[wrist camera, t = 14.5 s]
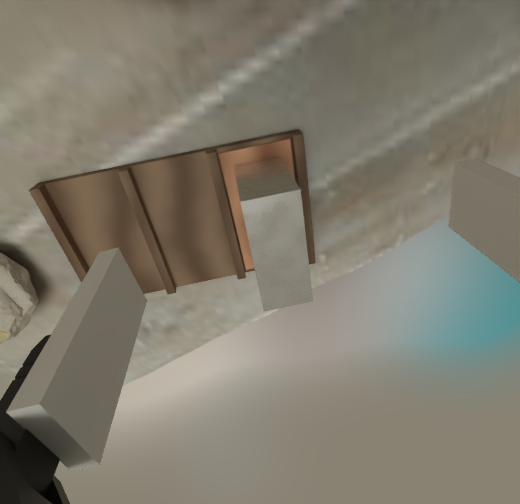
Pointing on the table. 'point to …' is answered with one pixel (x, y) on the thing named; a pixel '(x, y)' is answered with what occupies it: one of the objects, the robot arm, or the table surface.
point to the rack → (168, 212)
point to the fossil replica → (15, 298)
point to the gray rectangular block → (275, 231)
